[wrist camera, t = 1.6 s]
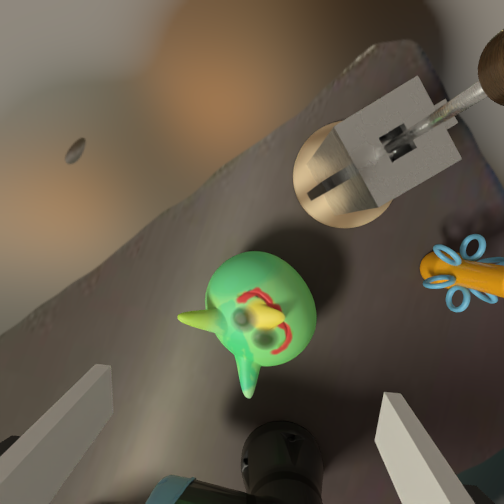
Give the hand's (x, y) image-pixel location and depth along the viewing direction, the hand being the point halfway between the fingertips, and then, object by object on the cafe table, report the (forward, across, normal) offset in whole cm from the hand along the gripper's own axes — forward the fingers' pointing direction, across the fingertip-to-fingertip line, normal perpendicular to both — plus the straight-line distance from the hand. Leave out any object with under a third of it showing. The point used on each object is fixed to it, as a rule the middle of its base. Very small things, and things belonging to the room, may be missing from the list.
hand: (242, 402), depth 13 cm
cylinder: (+36, -31, +1) cm, 48 cm away
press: (+37, -14, -14) cm, 42 cm away
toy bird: (+35, 0, +8) cm, 36 cm away
